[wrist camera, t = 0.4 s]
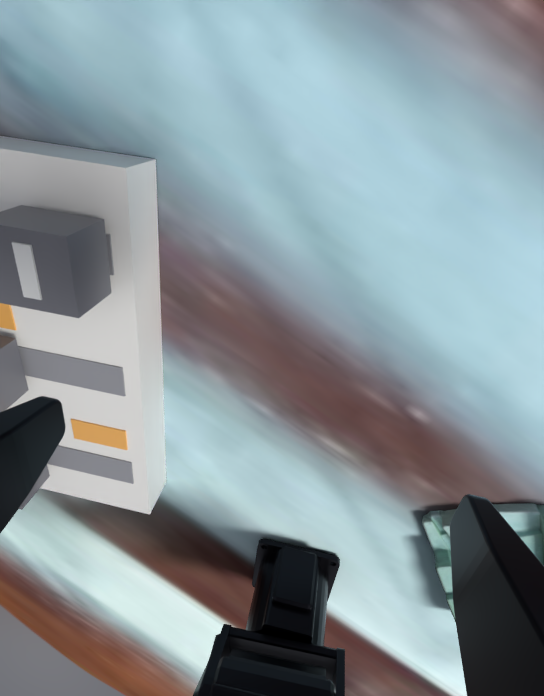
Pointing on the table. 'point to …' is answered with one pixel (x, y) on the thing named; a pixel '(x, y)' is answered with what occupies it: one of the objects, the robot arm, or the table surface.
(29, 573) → the table surface
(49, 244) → the switch
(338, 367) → the table surface
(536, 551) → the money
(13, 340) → the switch middle
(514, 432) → the table surface
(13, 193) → the switch unit
